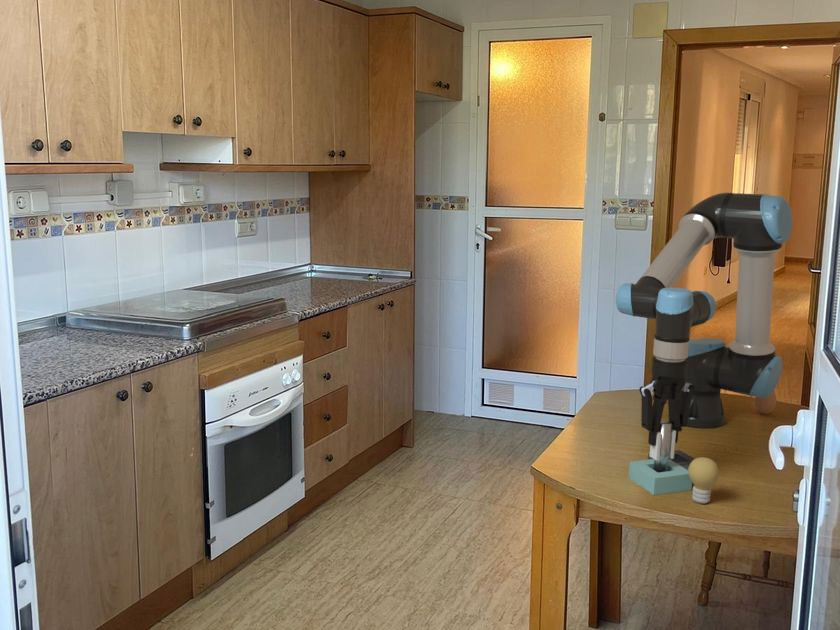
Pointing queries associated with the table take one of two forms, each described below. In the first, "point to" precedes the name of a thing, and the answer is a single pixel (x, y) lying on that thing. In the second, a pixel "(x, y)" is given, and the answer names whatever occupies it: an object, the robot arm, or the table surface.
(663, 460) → the pin
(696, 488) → the light bulb
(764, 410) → the egg
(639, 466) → the socket
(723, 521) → the table surface
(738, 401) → the table surface
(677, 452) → the mount
